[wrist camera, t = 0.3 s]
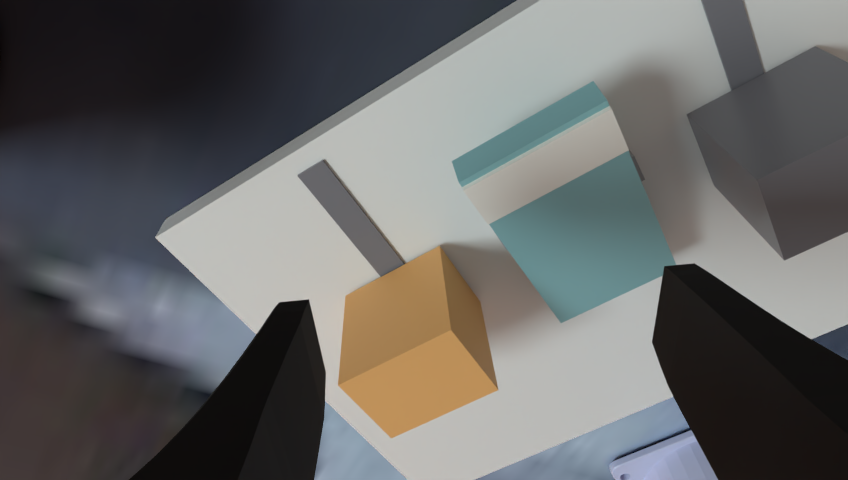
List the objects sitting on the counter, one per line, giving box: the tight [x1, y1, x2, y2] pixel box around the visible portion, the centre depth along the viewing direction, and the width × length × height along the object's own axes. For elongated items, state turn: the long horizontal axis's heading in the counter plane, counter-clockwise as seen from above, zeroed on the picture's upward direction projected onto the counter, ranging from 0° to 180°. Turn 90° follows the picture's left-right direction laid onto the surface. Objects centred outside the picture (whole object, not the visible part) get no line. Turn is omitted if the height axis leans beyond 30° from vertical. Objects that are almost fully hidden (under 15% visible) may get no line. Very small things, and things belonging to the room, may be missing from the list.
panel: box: [155, 0, 848, 480], centre depth 23 cm, size 18×24×2 cm
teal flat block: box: [452, 81, 676, 323], centre depth 19 cm, size 8×4×1 cm, turn 31°
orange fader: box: [338, 246, 498, 438], centre depth 21 cm, size 3×4×4 cm
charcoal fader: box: [687, 46, 848, 261], centre depth 18 cm, size 3×4×4 cm
